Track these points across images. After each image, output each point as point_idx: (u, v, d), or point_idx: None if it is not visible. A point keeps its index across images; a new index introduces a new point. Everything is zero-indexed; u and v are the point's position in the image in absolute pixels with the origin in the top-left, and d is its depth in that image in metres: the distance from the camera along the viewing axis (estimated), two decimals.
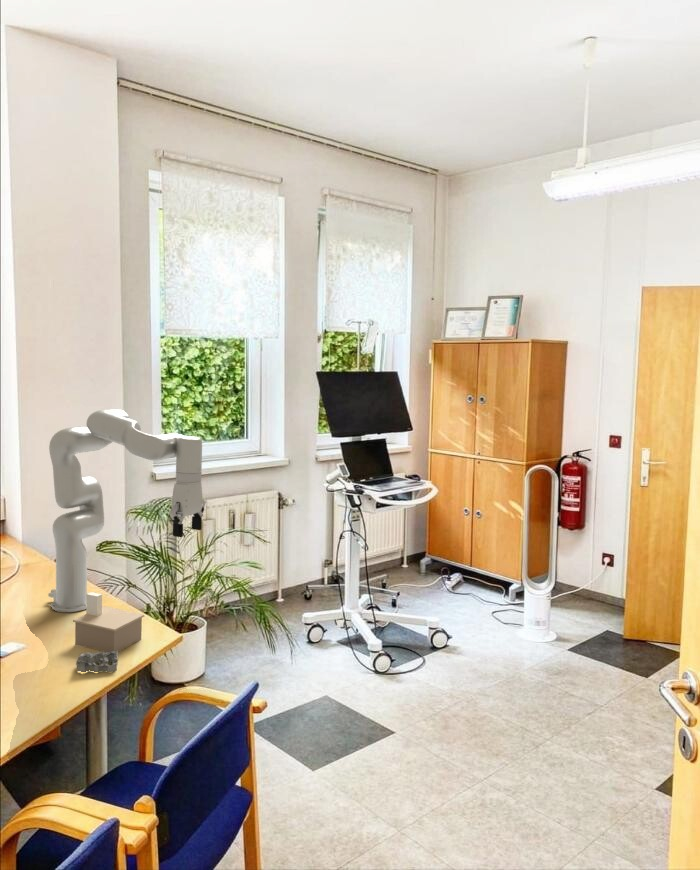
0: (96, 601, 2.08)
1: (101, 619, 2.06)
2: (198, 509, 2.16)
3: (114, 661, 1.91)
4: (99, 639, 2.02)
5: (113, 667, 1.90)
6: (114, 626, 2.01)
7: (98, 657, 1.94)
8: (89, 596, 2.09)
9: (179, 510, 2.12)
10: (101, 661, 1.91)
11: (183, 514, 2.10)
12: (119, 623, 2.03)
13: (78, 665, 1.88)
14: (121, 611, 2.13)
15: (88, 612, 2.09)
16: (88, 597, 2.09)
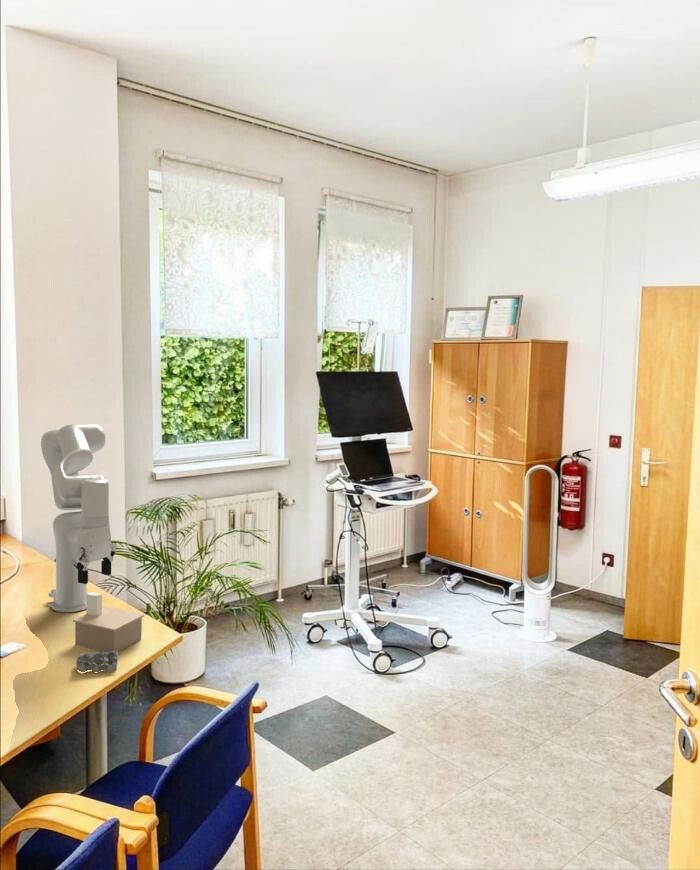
0: (96, 601, 2.08)
1: (101, 619, 2.06)
2: (106, 554, 2.09)
3: (114, 661, 1.92)
4: (99, 639, 2.02)
5: (113, 667, 1.90)
6: (114, 626, 2.01)
7: (98, 657, 1.95)
8: (89, 596, 2.09)
9: (84, 556, 2.05)
10: (101, 661, 1.91)
11: (88, 560, 2.02)
12: (119, 623, 2.03)
13: (78, 665, 1.88)
14: (121, 611, 2.13)
15: (88, 612, 2.09)
16: (88, 597, 2.09)
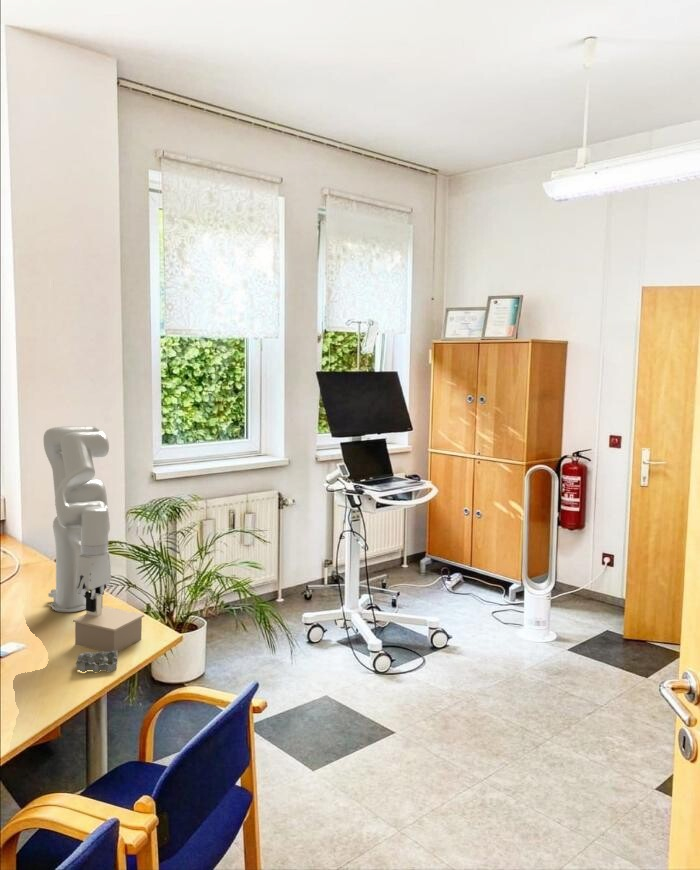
0: (96, 601, 2.08)
1: (101, 619, 2.06)
2: (105, 581, 2.10)
3: (114, 660, 1.92)
4: (99, 639, 2.02)
5: (113, 666, 1.90)
6: (114, 626, 2.01)
7: (97, 656, 1.95)
8: None
9: None
10: (101, 660, 1.91)
11: (87, 588, 2.04)
12: (119, 623, 2.03)
13: (78, 665, 1.88)
14: (121, 611, 2.13)
15: (88, 612, 2.09)
16: None
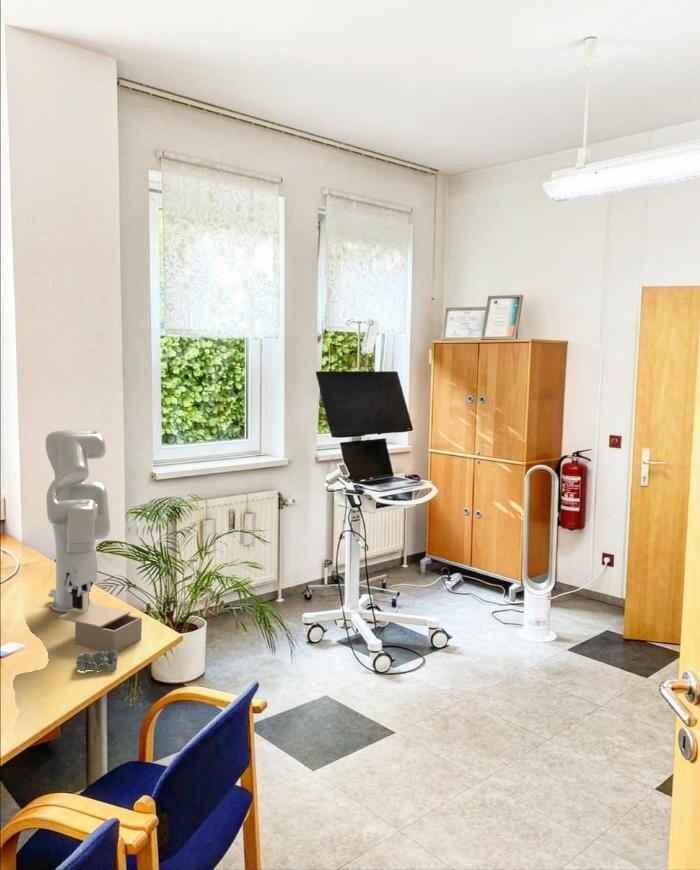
0: (82, 598, 2.10)
1: (87, 616, 2.07)
2: (92, 578, 2.12)
3: (114, 660, 1.92)
4: (99, 639, 2.02)
5: (113, 666, 1.91)
6: (100, 623, 2.03)
7: (97, 656, 1.95)
8: None
9: None
10: (101, 660, 1.91)
11: (73, 585, 2.06)
12: (105, 620, 2.05)
13: (78, 664, 1.88)
14: (107, 608, 2.14)
15: (75, 609, 2.11)
16: None
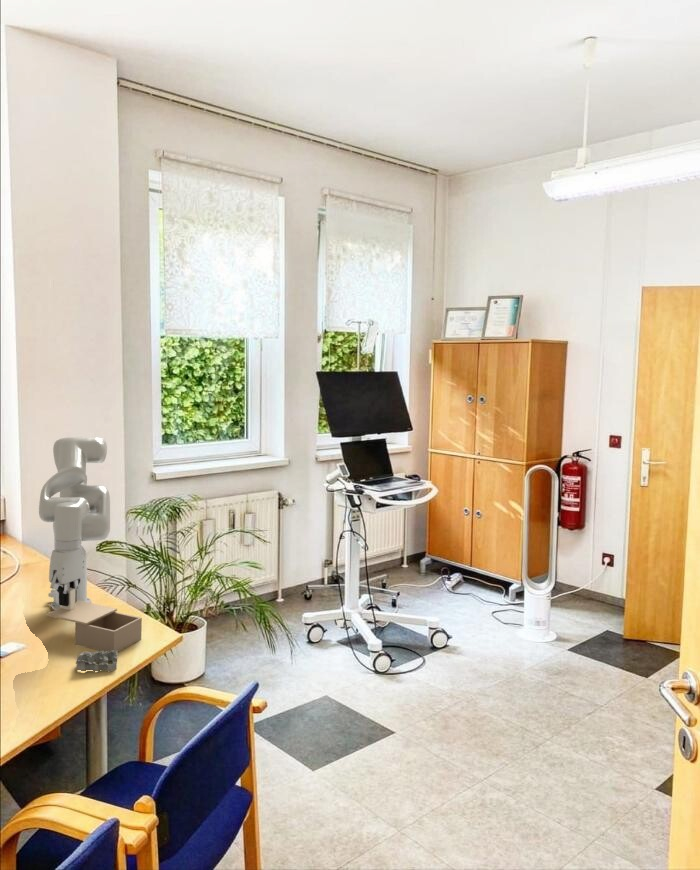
0: (69, 595, 2.11)
1: (74, 613, 2.09)
2: (79, 575, 2.14)
3: (114, 660, 1.92)
4: (99, 639, 2.02)
5: (113, 666, 1.91)
6: (86, 620, 2.05)
7: (97, 656, 1.95)
8: None
9: None
10: (101, 660, 1.91)
11: (60, 582, 2.07)
12: (91, 617, 2.07)
13: (78, 664, 1.88)
14: (95, 605, 2.16)
15: (62, 606, 2.13)
16: None
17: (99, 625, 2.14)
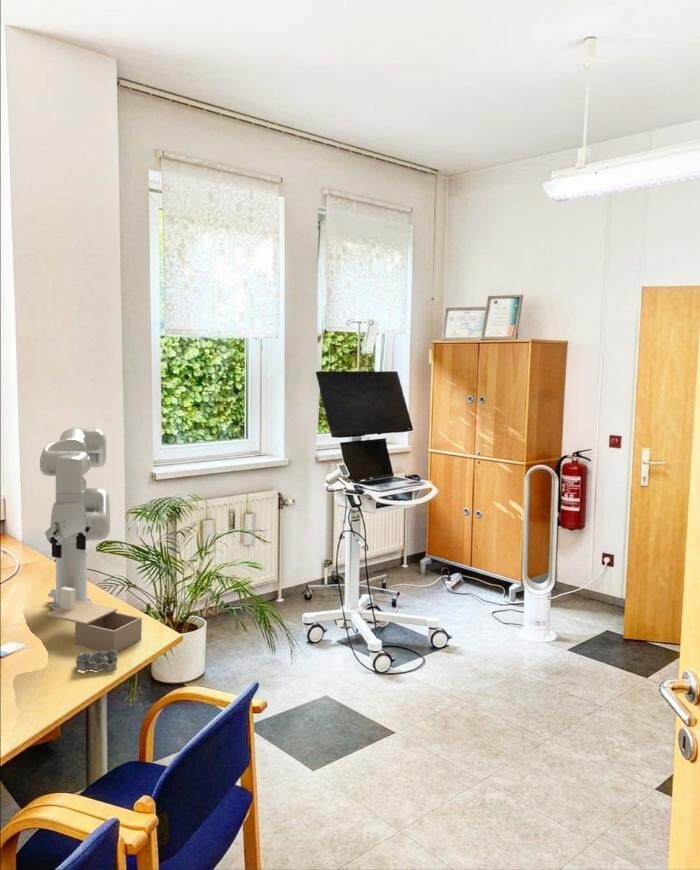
0: (69, 595, 2.11)
1: (74, 613, 2.09)
2: (80, 529, 2.13)
3: (114, 660, 1.92)
4: (99, 639, 2.02)
5: (113, 666, 1.91)
6: (86, 620, 2.05)
7: (97, 656, 1.95)
8: (63, 590, 2.12)
9: (58, 530, 2.08)
10: (101, 660, 1.91)
11: (61, 535, 2.06)
12: (91, 617, 2.07)
13: (78, 664, 1.88)
14: (95, 605, 2.16)
15: (62, 606, 2.13)
16: (62, 591, 2.12)
17: (99, 625, 2.14)
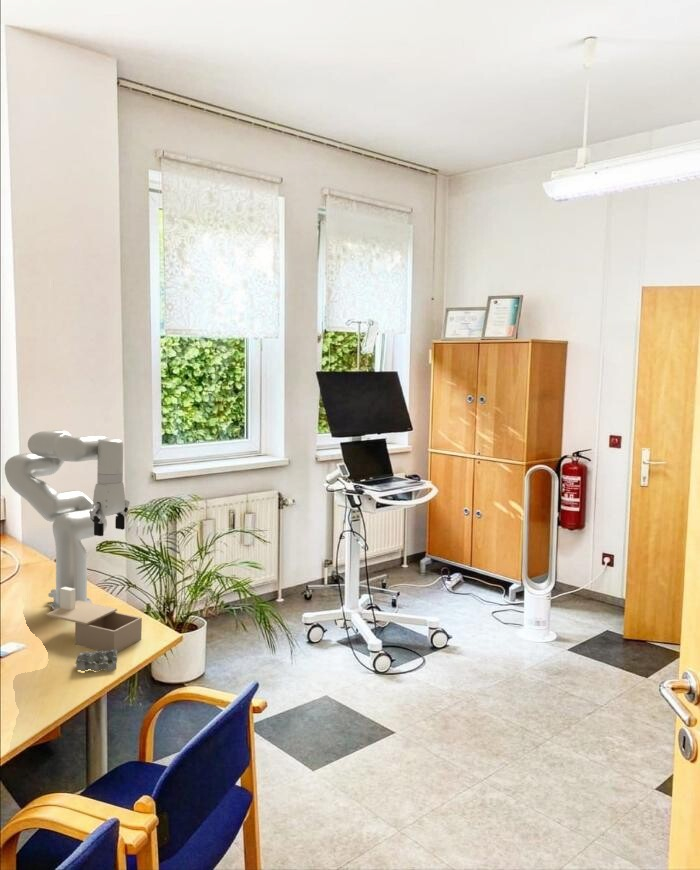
0: (69, 595, 2.11)
1: (74, 613, 2.09)
2: (120, 509, 2.23)
3: (114, 659, 1.92)
4: (99, 639, 2.02)
5: (113, 665, 1.91)
6: (86, 620, 2.05)
7: (97, 656, 1.95)
8: (63, 590, 2.12)
9: (100, 510, 2.19)
10: (101, 660, 1.91)
11: (103, 514, 2.17)
12: (91, 617, 2.07)
13: (78, 664, 1.88)
14: (95, 605, 2.16)
15: (62, 606, 2.13)
16: (62, 591, 2.12)
17: (99, 625, 2.14)
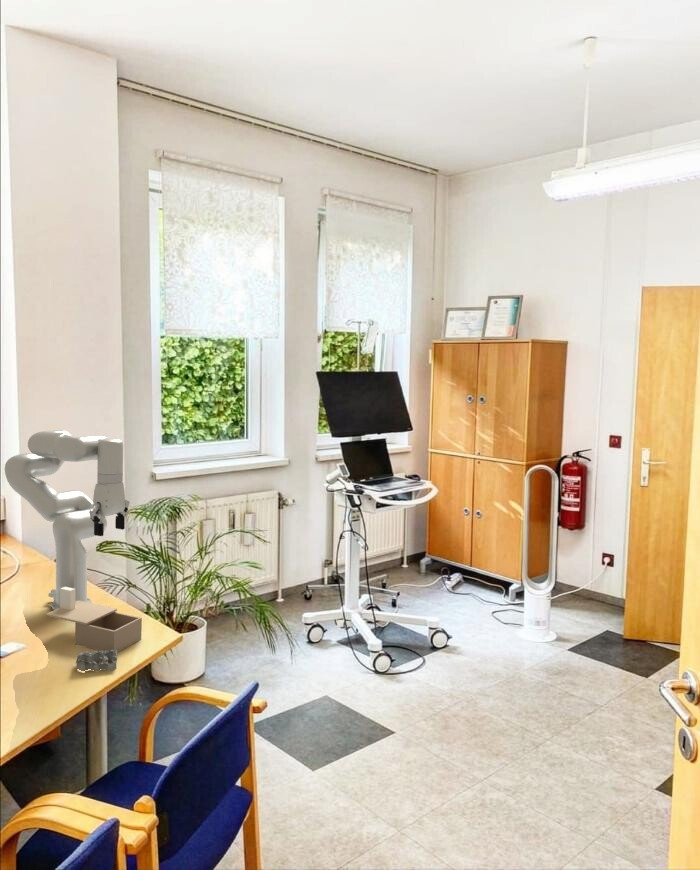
0: (69, 595, 2.11)
1: (74, 613, 2.09)
2: (120, 509, 2.23)
3: (114, 659, 1.93)
4: (99, 639, 2.02)
5: (113, 665, 1.91)
6: (86, 620, 2.05)
7: (97, 656, 1.95)
8: (63, 590, 2.12)
9: (100, 510, 2.19)
10: (101, 659, 1.91)
11: (103, 514, 2.17)
12: (91, 617, 2.07)
13: (78, 664, 1.88)
14: (95, 605, 2.16)
15: (62, 606, 2.13)
16: (62, 591, 2.12)
17: (99, 625, 2.14)
